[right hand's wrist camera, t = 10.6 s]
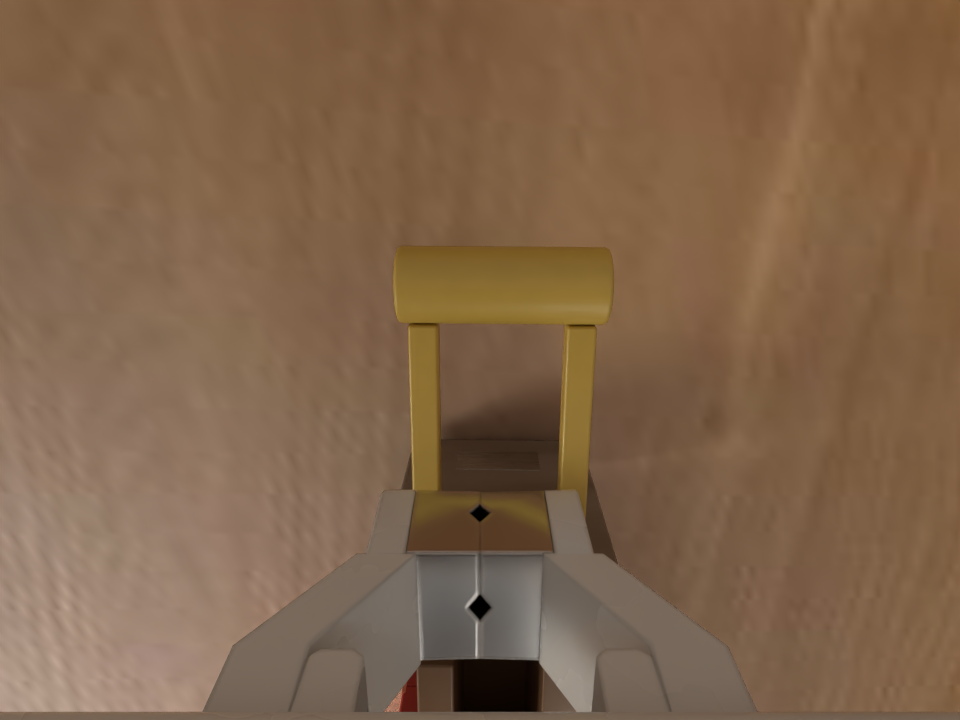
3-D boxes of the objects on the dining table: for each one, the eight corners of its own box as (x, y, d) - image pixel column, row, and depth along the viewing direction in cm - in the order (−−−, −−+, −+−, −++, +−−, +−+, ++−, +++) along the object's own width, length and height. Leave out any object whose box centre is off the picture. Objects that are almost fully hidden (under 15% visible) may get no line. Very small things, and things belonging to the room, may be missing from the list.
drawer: (407, 222, 17) (363, 261, 11) (593, 223, 17) (647, 263, 11) (425, 862, 24) (403, 1097, 18) (557, 864, 24) (579, 1102, 18)
